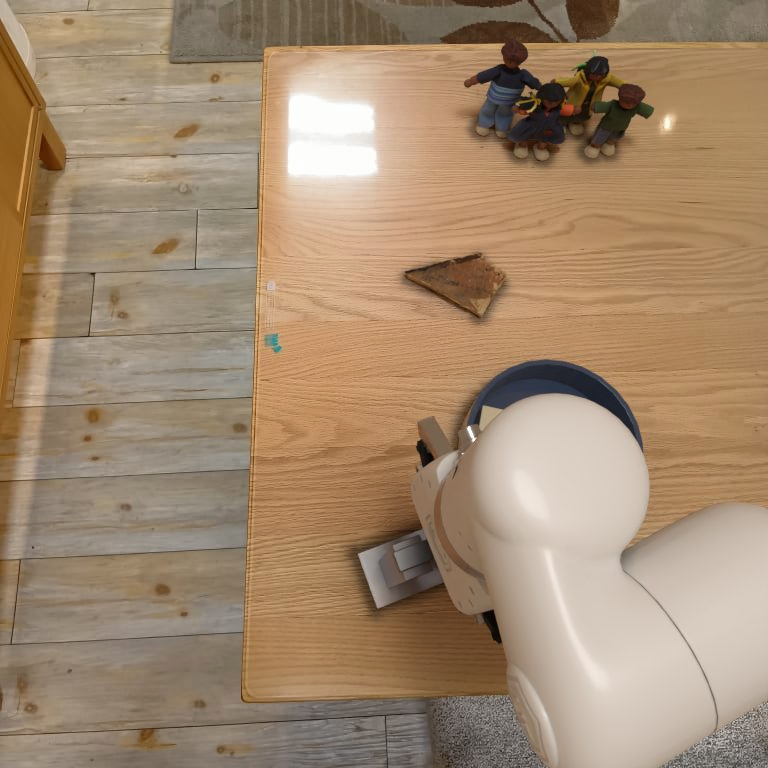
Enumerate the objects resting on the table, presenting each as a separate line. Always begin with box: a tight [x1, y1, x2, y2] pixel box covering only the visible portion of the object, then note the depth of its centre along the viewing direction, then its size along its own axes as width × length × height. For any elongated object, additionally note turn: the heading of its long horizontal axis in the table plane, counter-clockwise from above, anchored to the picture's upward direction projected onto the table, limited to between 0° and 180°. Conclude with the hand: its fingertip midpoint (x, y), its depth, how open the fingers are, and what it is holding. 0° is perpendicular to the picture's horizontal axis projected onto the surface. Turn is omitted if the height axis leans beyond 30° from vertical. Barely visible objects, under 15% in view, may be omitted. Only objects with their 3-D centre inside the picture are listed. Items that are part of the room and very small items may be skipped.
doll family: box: [463, 39, 655, 162], centre depth 86 cm, size 23×9×13 cm, turn 99°
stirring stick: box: [391, 539, 435, 573], centre depth 54 cm, size 2×10×2 cm, turn 111°
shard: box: [404, 252, 508, 318], centre depth 84 cm, size 11×8×2 cm
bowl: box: [457, 358, 644, 453], centre depth 76 cm, size 19×19×6 cm
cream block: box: [476, 405, 503, 432], centre depth 77 cm, size 3×3×3 cm
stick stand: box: [356, 528, 445, 610], centre depth 64 cm, size 6×13×20 cm, turn 111°
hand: (452, 542), depth 55 cm, fingers open, 9 cm apart
